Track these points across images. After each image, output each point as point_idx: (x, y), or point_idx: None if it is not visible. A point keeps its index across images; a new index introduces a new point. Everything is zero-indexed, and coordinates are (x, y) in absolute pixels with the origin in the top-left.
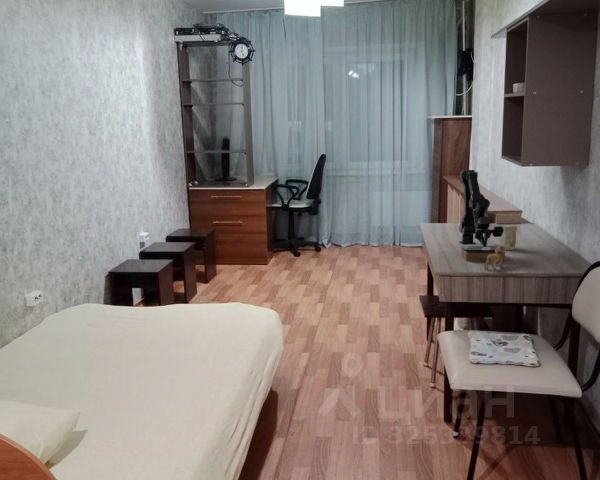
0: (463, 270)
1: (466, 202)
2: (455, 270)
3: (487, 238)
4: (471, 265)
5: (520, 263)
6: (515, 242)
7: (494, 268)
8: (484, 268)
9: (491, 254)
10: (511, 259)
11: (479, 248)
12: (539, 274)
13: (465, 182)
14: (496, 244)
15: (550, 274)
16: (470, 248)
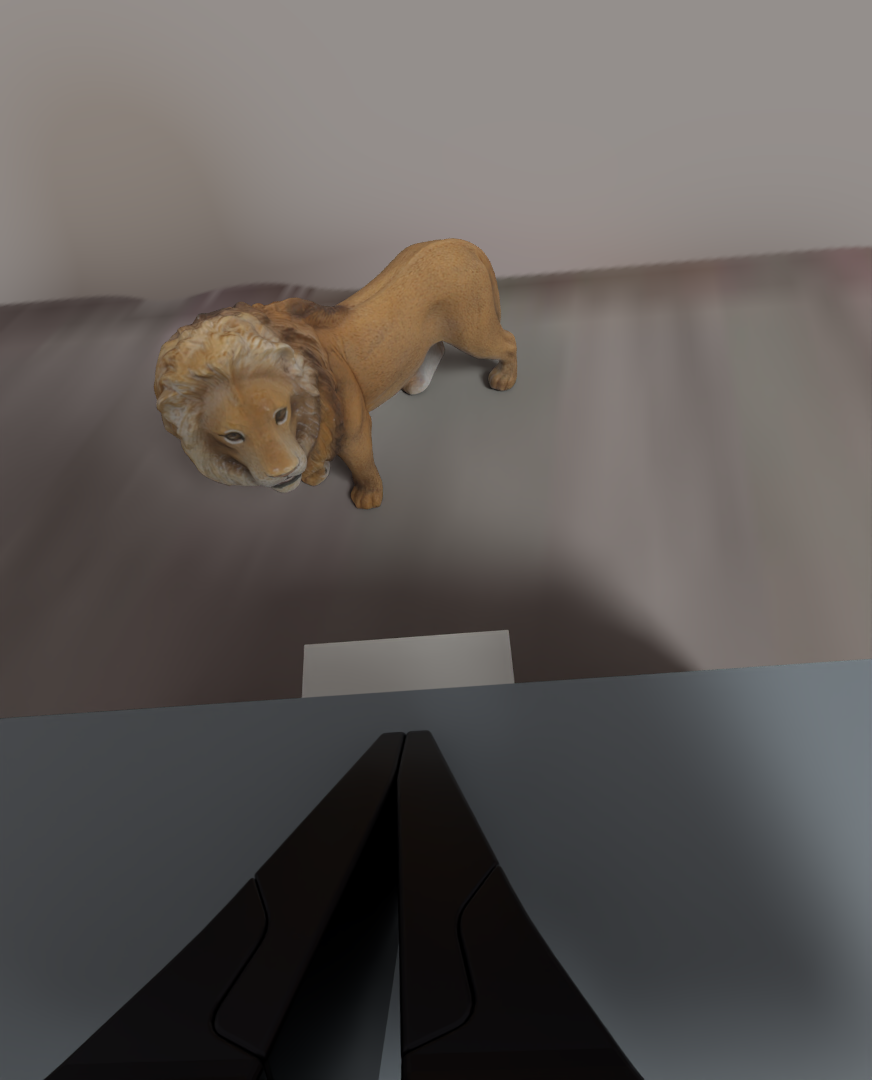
0: (728, 333)
1: None
2: (811, 327)
3: (224, 916)
4: (651, 497)
5: (34, 608)
6: None
7: (417, 370)
8: (515, 370)
9: (434, 241)
10: None
11: (563, 683)
12: (110, 301)
13: None
14: None
15: (32, 308)
16: (790, 665)
